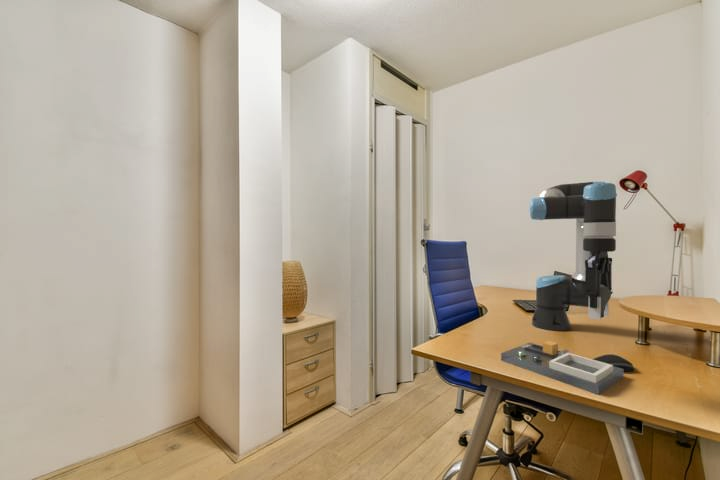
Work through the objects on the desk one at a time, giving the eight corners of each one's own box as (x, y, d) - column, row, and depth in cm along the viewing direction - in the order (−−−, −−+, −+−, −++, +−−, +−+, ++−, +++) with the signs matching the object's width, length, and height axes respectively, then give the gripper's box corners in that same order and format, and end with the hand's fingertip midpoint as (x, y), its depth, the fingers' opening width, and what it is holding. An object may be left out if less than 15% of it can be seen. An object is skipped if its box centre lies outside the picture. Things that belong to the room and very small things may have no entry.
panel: (529, 349, 117) (529, 337, 117) (623, 377, 94) (623, 362, 94) (501, 360, 107) (501, 347, 107) (598, 394, 84) (598, 378, 84)
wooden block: (548, 350, 109) (548, 340, 109) (558, 353, 106) (558, 343, 106) (542, 353, 107) (542, 342, 107) (552, 356, 104) (552, 345, 104)
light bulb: (614, 318, 91) (614, 284, 91) (606, 322, 88) (606, 286, 88) (591, 314, 96) (591, 281, 95) (583, 317, 93) (583, 283, 92)
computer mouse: (583, 362, 106) (583, 350, 106) (625, 365, 104) (625, 352, 103) (595, 371, 99) (595, 359, 99) (640, 374, 97) (640, 361, 97)
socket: (567, 358, 102) (567, 352, 102) (613, 372, 92) (613, 365, 92) (549, 367, 95) (549, 361, 95) (595, 383, 85) (595, 375, 85)
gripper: (596, 236, 100) (595, 310, 100) (570, 238, 89) (570, 319, 90) (626, 237, 94) (625, 315, 94) (602, 238, 83) (602, 326, 83)
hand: (598, 317), depth 92 cm, fingers closed on light bulb, 5 cm apart
